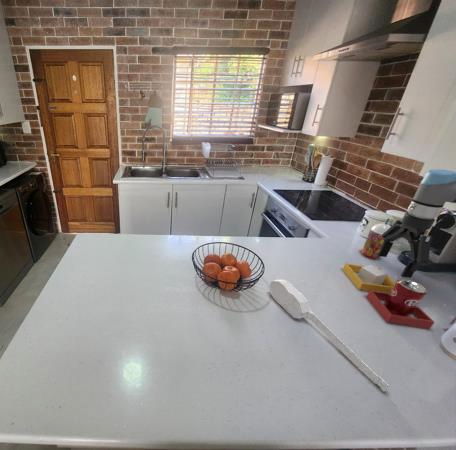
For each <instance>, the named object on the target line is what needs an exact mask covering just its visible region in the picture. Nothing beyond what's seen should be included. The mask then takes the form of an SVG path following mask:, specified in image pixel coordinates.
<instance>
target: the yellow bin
mask: <svg viewBox="0 0 456 450" xmlns="http://www.w3.org/2000/svg"><path fill="white" fill-rule="evenodd" d="M364 266H365V265H361V264H351V263H345V264H344V266H343V268H342V271H343V272H344V274H346V276H347V277H348V278H349V279H350V281H351V282H352V283H353V284H354V286H355V287H356V288H357V289H358V290H359V291H364V292H369V291H378V292H385V293H390V292H391V290H392V289H393V287H394V285H395V284H396V282H395V281H394V280H393V279H392V278H391V277H390V276H389V275H388V274H387V276H386V278H385V280H384V281H383V283H382V285H376V284H369V283H363V282H362V281H361V279H360V278H359V277H358V276H357V275H358V274H356V273H359V271H360V269H361V267H364ZM378 268H379V269H380V270H382V268H381V267H378ZM383 284H384V285H383Z"/></svg>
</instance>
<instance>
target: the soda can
mask: <svg viewBox="0 0 456 450" xmlns="http://www.w3.org/2000/svg"><path fill="white" fill-rule="evenodd" d="M395 283H396V284H395V285H394V287H393V289H392V290H391V292H390V293H389V295H388V297H387V298H386V300H385V301H383V302H382V303H383V304H384V306H385V307H386V308H387V309H388V310H389V311H390V313H391V314H392V315H398V316H405V317H412V315H413V312H414V311H415V309H416V308H417V306H418V307H419V305H420V304H421V302H422V301H423V299H424V298H425V297H426V295H427V290H426V288H425V286H423V285H421V284H420V283H418V282H416V281H413V280H410V279H405V278H402V279H398V280H396V282H395Z"/></svg>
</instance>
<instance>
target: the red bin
mask: <svg viewBox="0 0 456 450" xmlns="http://www.w3.org/2000/svg"><path fill="white" fill-rule="evenodd" d="M388 295H389V293H385V292H378V291H368V293H367V294H366V297H365V298H366V299H367V300H368V301H369V303H370V304H371V305H372V306H373V307H374V309H375V310H376V311H377V313H379V315H380V316H381V317H382V318H383V320H384V321H385V322H386V323H387V324H393V325H399V326H406V327H413V328H419V329H425V330H430V329H431V328H432V327H433V325H434V324H435V321H434V320H433V319H432V318H431V317H430V316H429V315H428V314H427V313H426V312H425V311H424V310H423V309H421V307H420V306H419V305H418V306H417V308H416V309H415V311H414V312H413V314H412V315H413V316H414V317H412V316H410V317H405V316H398V315H392V314H391V313H390V311H389V310H388V309H387V308H386V307H385V306H384V304H383V303H384V302H385V300H386V298H387V297H388ZM382 301H383V302H382Z"/></svg>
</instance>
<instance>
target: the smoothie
mask: <svg viewBox="0 0 456 450" xmlns="http://www.w3.org/2000/svg"><path fill="white" fill-rule="evenodd" d="M389 221H390V218H387V219H386V221H385V222H379V223H376V224H374V225H373V226H371V227H370V229H369V232H368V235H367V237H366V240H365V241H364V245H363V247H362V249H361V252H362V253H361V254H362V256H364V257H365V258H368V259H372V260H376V259H378V258H379V257H380V256H378V254H379V252H380V250H381V246H382V244H383V242H384V238H383V237H381V235H382V234H383V233H385V232H386V231H387V230H388V229H389V228H390V227H391V226H392V225H390V224H388V223H389Z"/></svg>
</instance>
